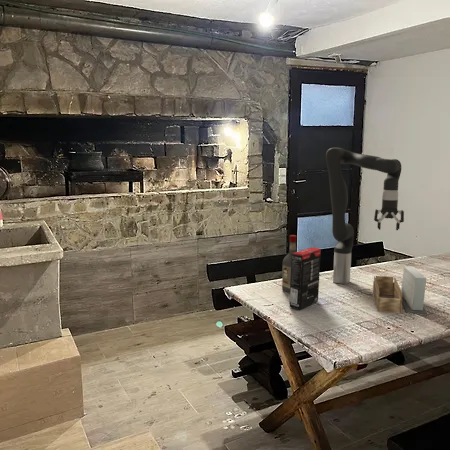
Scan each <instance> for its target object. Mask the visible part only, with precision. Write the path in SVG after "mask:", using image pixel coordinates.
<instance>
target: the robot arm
mask: <svg viewBox="0 0 450 450" xmlns="http://www.w3.org/2000/svg"><path fill="white" fill-rule="evenodd" d="M325 161H326V167H327V171H328V179H329V190H330V191H329V192H330V193H329V194H330V203H331V213H332V227H331V228H332V236H333V238H334V239H335V240H336V241H337V243H336V245H335V246H334V249H333V250H334V251H333V253H334V255H333V276H332V277H333V279H332V283H335V284H342V285H343V284H345V285H346V284H349V283H350V282H351V267H352V266H351V265H352V249H353V247H354V241H355V240H354V237H355V231H354V230H355V229H354V227H353V226H352V224H350V223H348V222H346V211H347V208H348V202H349V192H348V186H347V184H346V181H345V179H344V176H343V175H342V174H343V173H342V170H341V169H342V167H341V165H342V164H343V165H345V164H346V165H347V164H348V165H354V166H357V167H360V168H363V169H367V170H372V171H377V172H381V173H383V174H386V178H385V179H384V180H383V188H382V190H383V191H382V197H381V199H382V200H381V209H377V208H376V209H375V210H374V216H373V217H374V218H373V221H374V222H375V223H376V222H377V227H376V228H377V229H378V230H381V228H382V227H381V225H382V221H383V220H384V219H391V220H392V219H394V220H395V221H396V222H395V223H396V226H395V231H399V230H400V224H402V223H404V222H405V218H404V216H405V211H404V210H403V209H401V210H398V204H399V203H398V202H399V180H400V177H401V174H402V163H401V161H400V160H399V159H395V158H392V159H391V158H390V159H389V158H382V157H380V156H375V155H368V154H364V153H357V152H354V151H350V150H347V149H345V148H342V147H331V148H329V149H327V151H326V153H325ZM379 214H381V215H380V217H379V218H378V215H379ZM398 214H399V215H400V219H399V218H398V217H397V215H398Z"/></svg>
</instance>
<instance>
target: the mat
mask: <svg viewBox="0 0 450 450" xmlns="http://www.w3.org/2000/svg"><path fill="white" fill-rule="evenodd" d="M402 307H403V309H404V311H405V313H406V314H419V315H428V312H427V310H426V307H424V305H423V310H412V309H411V308H410V307H409V305H408V304H407V303H406V302H405V300H404V299H403V298H402Z"/></svg>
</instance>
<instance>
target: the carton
mask: <svg viewBox="0 0 450 450" xmlns="http://www.w3.org/2000/svg"><path fill="white" fill-rule="evenodd" d="M372 294H373V299H374V305H375V308H376V311H377V312H381V313H382V312H384V313H395V314H396V313H398V314H402V310H403V309H402V308H403V304H402V292H401V288H400V285H399V283H398V281H397V278H396V276H395V277H394V276H387V275H386V276H385V275H374V277H373V283H372ZM380 295H389V296H390V295H391V296H393V298H392V297H381V296H380Z"/></svg>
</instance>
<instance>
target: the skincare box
mask: <svg viewBox="0 0 450 450" xmlns="http://www.w3.org/2000/svg"><path fill="white" fill-rule="evenodd" d="M402 271H403V272H402V280H401V288H400V289H401V292H402V298H403V299H404V300H405V302H406V303H407V304H408V305H409V307H410V308H411V309H412V310H423V306H424V303H425V293H426V286H427V277H426V276H424V274H423V273H421V272H420V270H418V269H417V268H416V267H414V266H409V265H407V266H406V265H403V270H402Z"/></svg>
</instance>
